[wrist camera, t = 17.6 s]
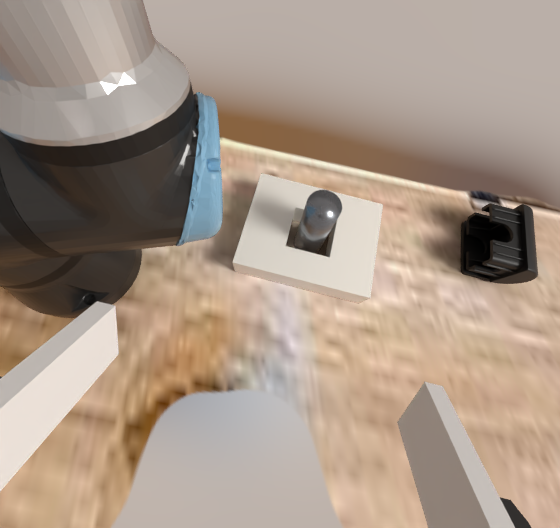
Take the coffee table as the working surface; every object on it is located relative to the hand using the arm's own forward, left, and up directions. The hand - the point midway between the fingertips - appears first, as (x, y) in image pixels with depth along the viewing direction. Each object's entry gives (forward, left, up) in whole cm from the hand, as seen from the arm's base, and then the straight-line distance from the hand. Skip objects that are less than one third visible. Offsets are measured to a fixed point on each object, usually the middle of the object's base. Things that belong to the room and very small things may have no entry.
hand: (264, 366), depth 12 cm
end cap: (+30, +23, -25) cm, 45 cm away
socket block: (+3, +17, -25) cm, 30 cm away
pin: (+3, +17, -25) cm, 30 cm away
